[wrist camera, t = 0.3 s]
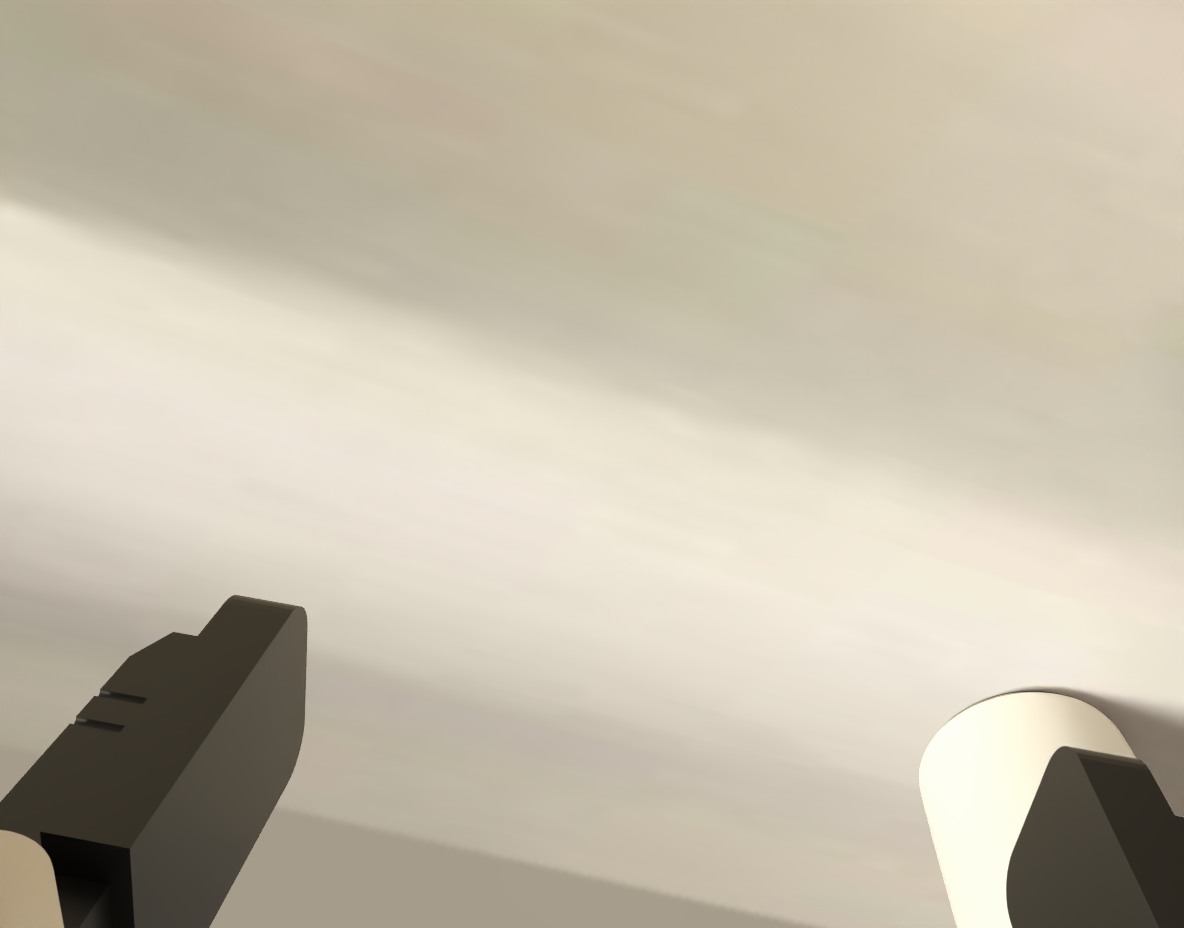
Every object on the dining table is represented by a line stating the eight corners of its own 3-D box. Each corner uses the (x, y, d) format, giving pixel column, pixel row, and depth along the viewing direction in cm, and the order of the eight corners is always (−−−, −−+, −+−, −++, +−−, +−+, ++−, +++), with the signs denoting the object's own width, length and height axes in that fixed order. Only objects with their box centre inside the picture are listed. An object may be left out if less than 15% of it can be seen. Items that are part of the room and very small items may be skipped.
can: (1159, 787, 34) (1378, 1179, 23) (974, 865, 36) (1096, 1256, 25) (1068, 649, 32) (1263, 1008, 21) (878, 739, 34) (966, 1108, 23)
